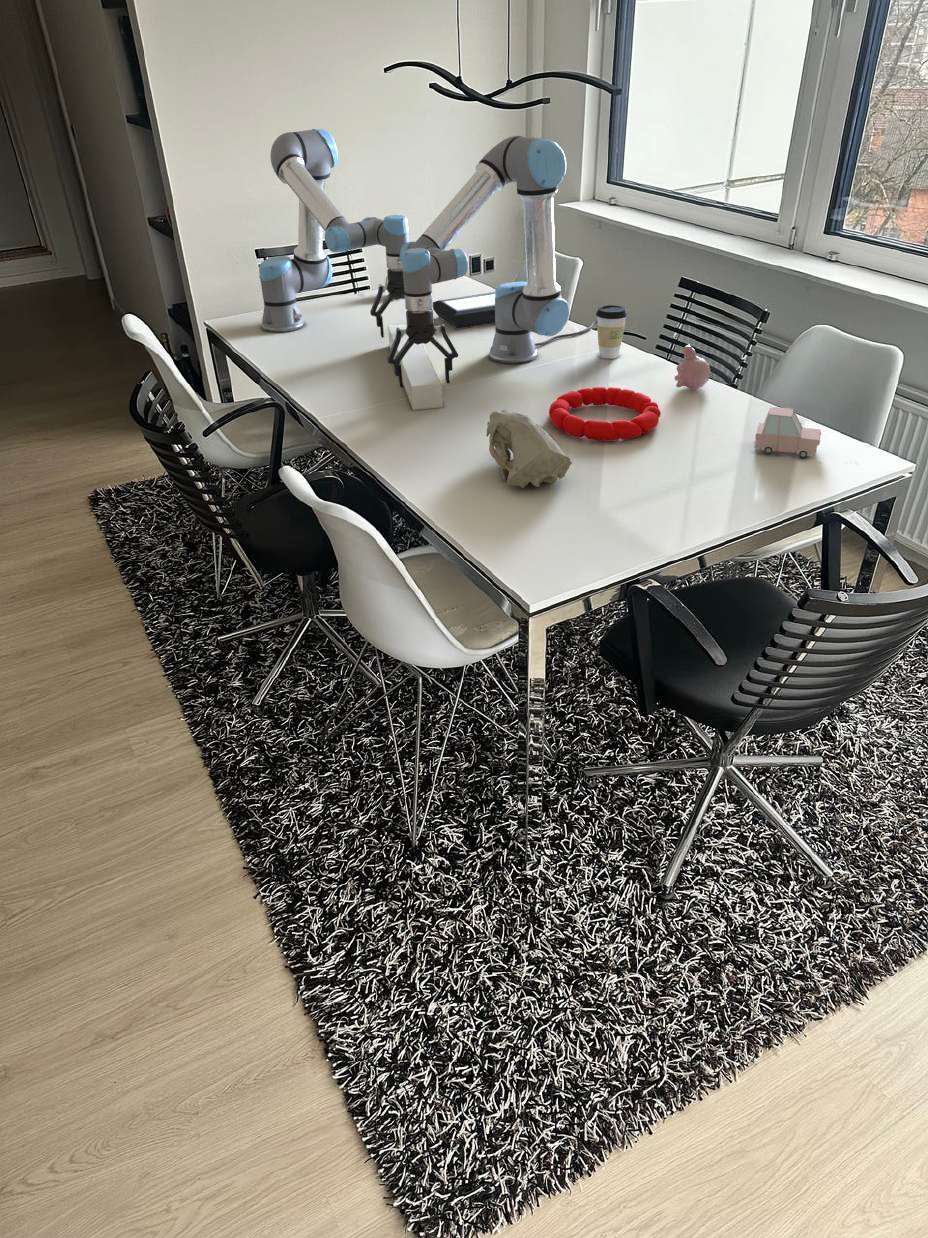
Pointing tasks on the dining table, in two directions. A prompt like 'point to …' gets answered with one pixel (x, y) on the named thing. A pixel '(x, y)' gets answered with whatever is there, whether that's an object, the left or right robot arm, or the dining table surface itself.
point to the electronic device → (467, 310)
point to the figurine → (692, 370)
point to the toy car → (786, 434)
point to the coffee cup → (610, 329)
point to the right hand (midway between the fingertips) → (424, 384)
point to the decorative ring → (604, 428)
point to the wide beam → (418, 374)
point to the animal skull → (525, 450)
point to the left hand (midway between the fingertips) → (402, 334)
